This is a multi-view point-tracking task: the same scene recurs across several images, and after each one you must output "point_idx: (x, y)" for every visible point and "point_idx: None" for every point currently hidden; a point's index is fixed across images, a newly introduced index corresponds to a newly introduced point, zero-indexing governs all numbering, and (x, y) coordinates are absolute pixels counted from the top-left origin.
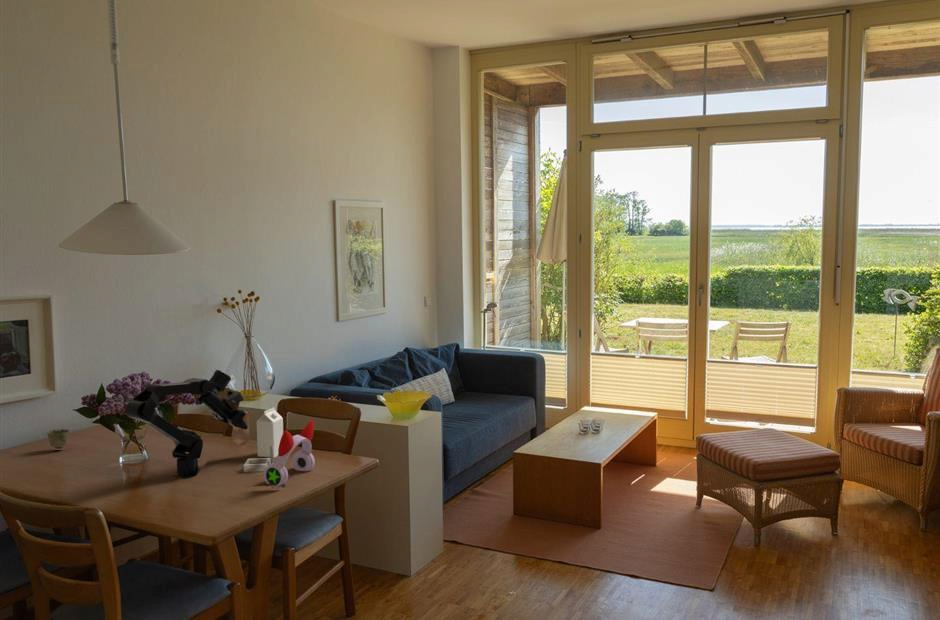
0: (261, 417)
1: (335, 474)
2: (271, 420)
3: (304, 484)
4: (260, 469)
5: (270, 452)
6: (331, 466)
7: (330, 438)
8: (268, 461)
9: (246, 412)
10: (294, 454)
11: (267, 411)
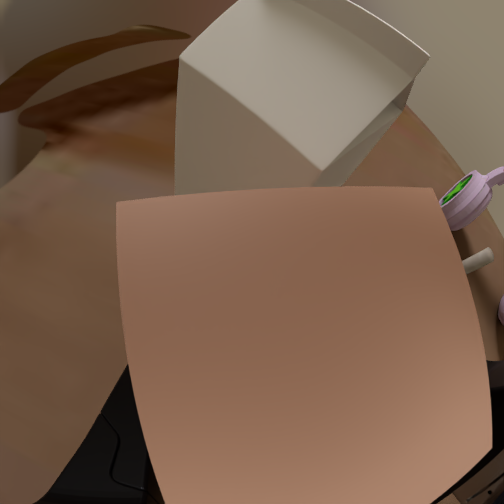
0: (355, 109)
1: (451, 169)
2: (401, 103)
3: (494, 250)
4: None
5: (474, 270)
6: (401, 141)
7: (127, 43)
8: None
9: (416, 217)
10: (476, 207)
11: (376, 31)
